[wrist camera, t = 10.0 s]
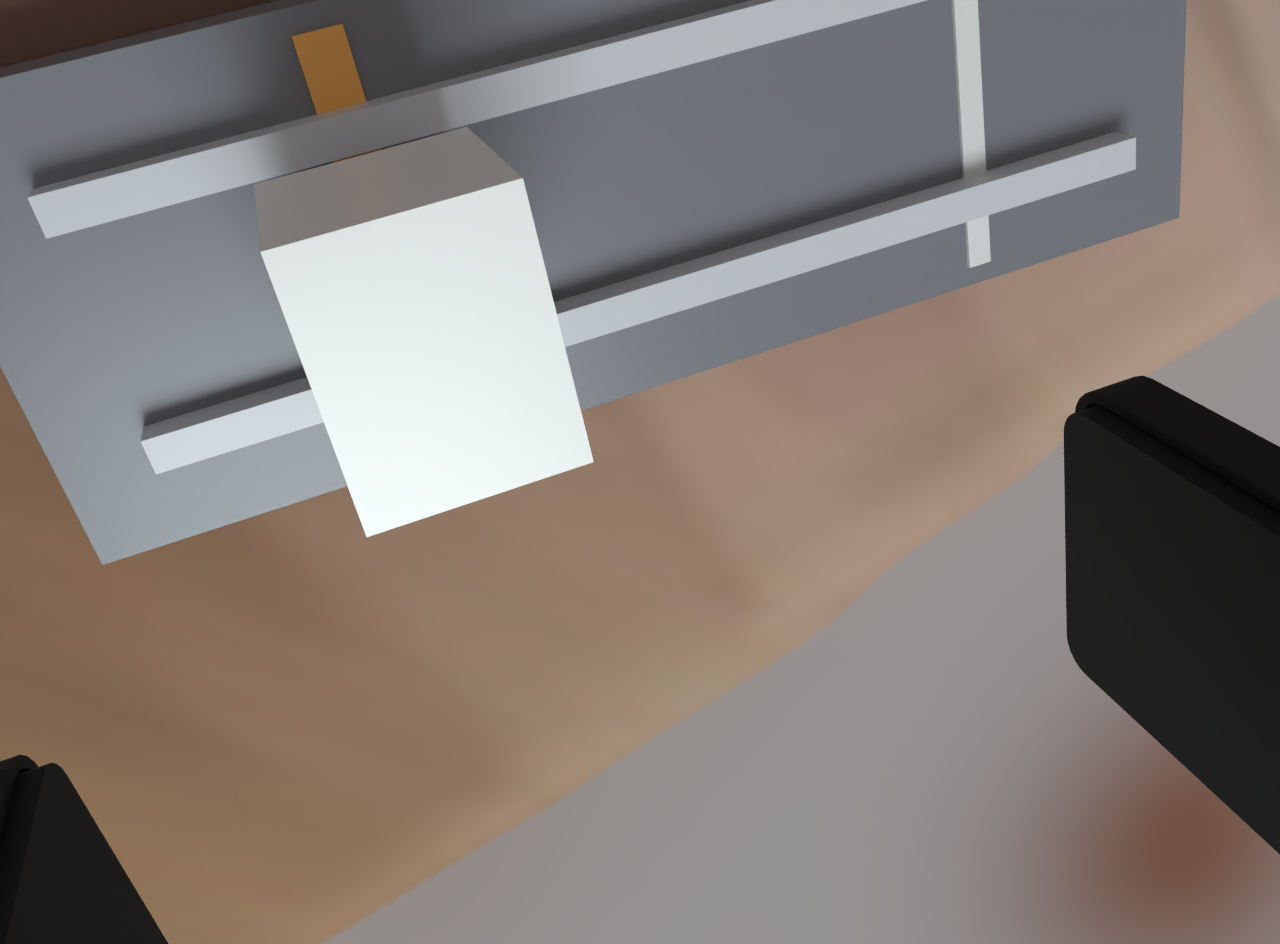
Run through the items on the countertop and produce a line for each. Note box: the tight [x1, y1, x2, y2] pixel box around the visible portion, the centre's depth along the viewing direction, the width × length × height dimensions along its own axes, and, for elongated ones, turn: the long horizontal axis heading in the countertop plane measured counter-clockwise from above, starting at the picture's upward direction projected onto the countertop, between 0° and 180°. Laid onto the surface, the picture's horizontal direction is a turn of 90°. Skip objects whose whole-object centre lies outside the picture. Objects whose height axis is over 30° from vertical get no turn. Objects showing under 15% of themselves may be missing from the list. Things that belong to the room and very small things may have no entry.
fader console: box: [0, 0, 1186, 565], centre depth 26 cm, size 28×10×3 cm, turn 102°
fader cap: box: [254, 127, 593, 537], centre depth 21 cm, size 4×5×7 cm
